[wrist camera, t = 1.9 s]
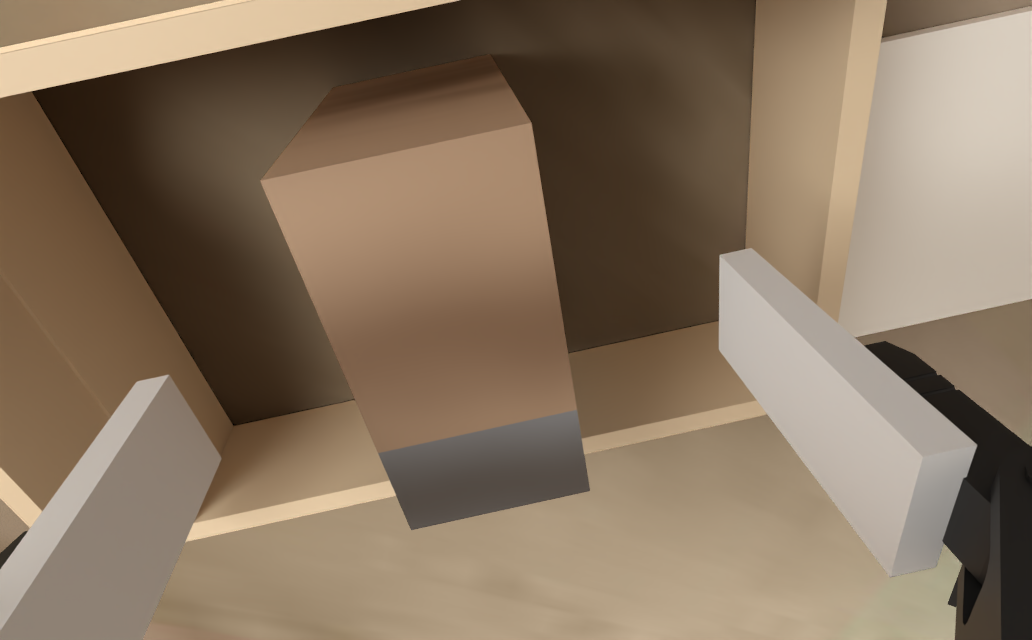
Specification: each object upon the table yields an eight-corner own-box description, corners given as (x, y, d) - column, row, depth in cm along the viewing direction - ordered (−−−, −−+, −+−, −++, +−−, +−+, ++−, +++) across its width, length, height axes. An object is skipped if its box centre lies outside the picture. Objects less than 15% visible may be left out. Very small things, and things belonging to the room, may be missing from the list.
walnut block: (333, 87, 18) (260, 180, 10) (490, 54, 18) (531, 122, 10) (418, 344, 23) (411, 530, 16) (539, 319, 23) (590, 490, 16)
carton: (-24, 53, 16) (-378, 126, 9) (788, -119, 17) (1058, -177, 9) (223, 443, 25) (138, 640, 18) (759, 326, 25) (890, 474, 18)
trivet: (841, 46, 19) (852, 49, 19) (1133, -16, 19) (1152, -16, 19) (806, 338, 26) (814, 346, 25) (1025, 290, 26) (1037, 297, 25)
